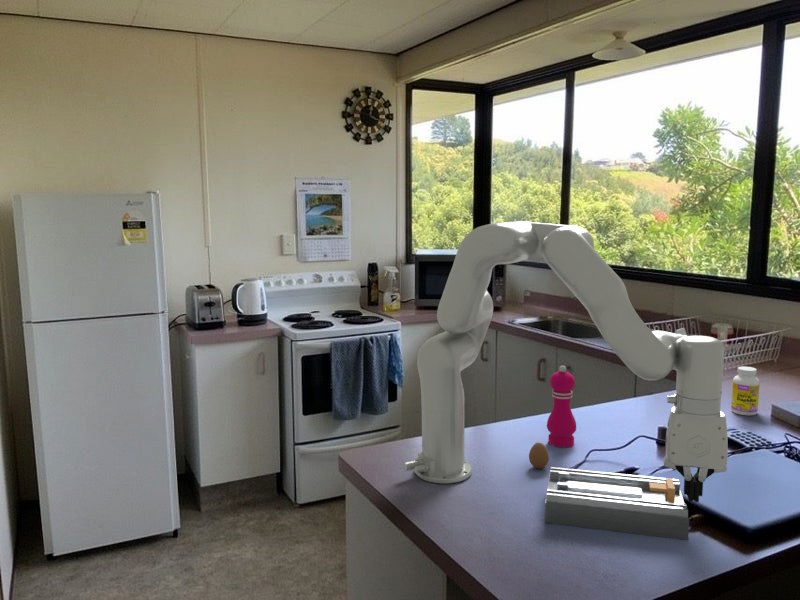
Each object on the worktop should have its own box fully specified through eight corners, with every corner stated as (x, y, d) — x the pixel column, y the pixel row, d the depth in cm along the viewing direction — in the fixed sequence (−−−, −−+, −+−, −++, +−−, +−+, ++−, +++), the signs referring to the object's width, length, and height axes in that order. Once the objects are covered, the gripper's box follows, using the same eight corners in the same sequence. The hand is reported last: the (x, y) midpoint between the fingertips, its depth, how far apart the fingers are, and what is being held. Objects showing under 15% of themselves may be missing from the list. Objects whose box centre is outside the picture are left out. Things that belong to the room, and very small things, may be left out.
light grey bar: (559, 491, 125) (559, 485, 125) (560, 484, 128) (560, 479, 128) (641, 499, 121) (642, 494, 120) (640, 492, 124) (640, 487, 124)
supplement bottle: (732, 414, 180) (734, 370, 178) (729, 407, 186) (732, 364, 184) (759, 417, 177) (762, 372, 175) (755, 410, 183) (758, 366, 181)
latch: (650, 501, 120) (650, 486, 119) (648, 491, 124) (648, 476, 123) (674, 504, 118) (675, 488, 118) (671, 493, 123) (672, 478, 122)
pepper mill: (577, 449, 157) (578, 369, 154) (546, 447, 158) (548, 368, 155) (575, 438, 164) (576, 362, 161) (546, 436, 165) (547, 361, 162)
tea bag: (687, 353, 251) (689, 328, 250) (679, 356, 247) (680, 331, 246) (678, 352, 254) (679, 327, 253) (670, 354, 250) (671, 329, 248)
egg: (538, 473, 143) (538, 448, 142) (524, 467, 147) (524, 442, 146) (552, 469, 145) (553, 443, 144) (538, 462, 149) (539, 437, 148)
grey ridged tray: (544, 522, 121) (545, 491, 120) (549, 490, 134) (549, 462, 133) (688, 540, 114) (689, 507, 113) (678, 504, 127) (679, 475, 126)
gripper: (655, 407, 115) (651, 503, 118) (748, 413, 111) (741, 512, 114) (652, 395, 122) (648, 485, 125) (738, 400, 118) (732, 494, 121)
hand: (692, 498), depth 120 cm, fingers closed
